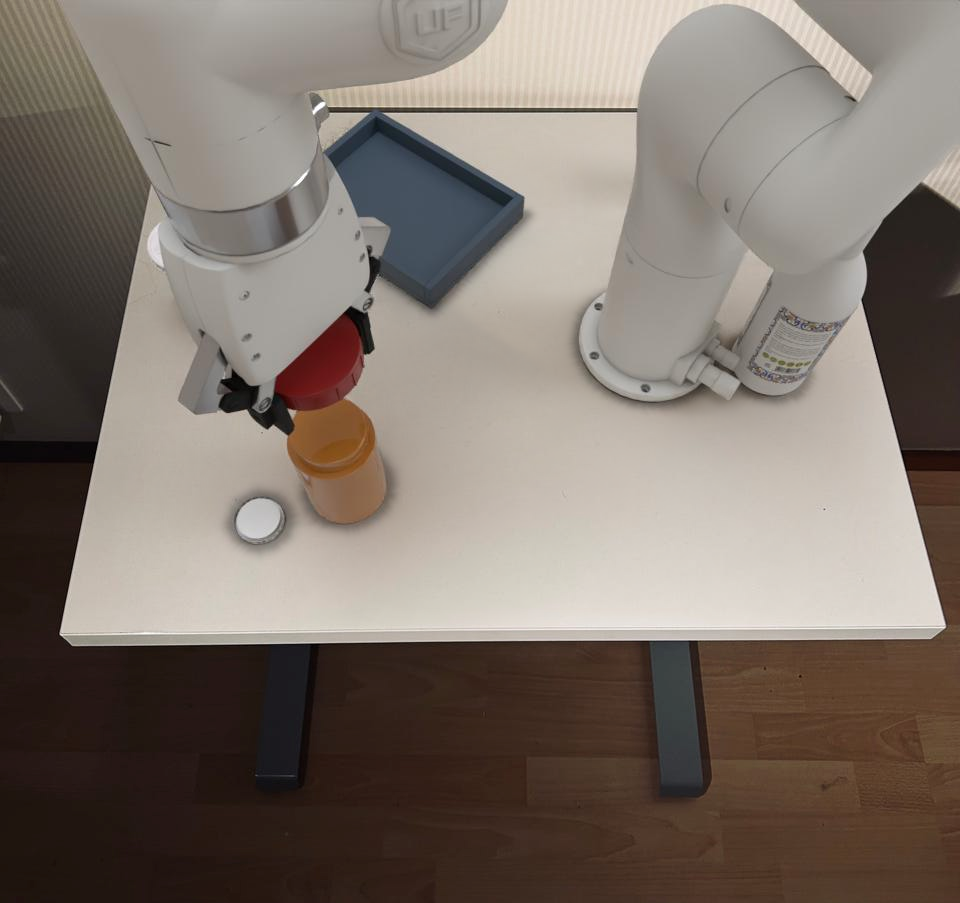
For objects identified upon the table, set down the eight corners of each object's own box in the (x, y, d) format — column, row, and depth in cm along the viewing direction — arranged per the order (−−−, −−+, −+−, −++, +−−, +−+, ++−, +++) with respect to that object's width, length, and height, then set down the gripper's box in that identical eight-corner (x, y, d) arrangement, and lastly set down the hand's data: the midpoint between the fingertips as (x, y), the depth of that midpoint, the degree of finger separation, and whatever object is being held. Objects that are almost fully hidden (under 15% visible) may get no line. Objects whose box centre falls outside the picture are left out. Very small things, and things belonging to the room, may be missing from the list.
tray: (523, 216, 81) (524, 196, 78) (431, 308, 76) (430, 290, 73) (377, 129, 86) (375, 108, 84) (282, 210, 81) (276, 190, 78)
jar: (402, 481, 68) (391, 422, 58) (350, 539, 66) (330, 487, 56) (345, 438, 70) (325, 374, 60) (292, 493, 67) (263, 435, 58)
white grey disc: (261, 553, 65) (259, 550, 64) (225, 525, 66) (223, 522, 65) (294, 516, 66) (293, 513, 66) (259, 489, 67) (257, 486, 67)
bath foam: (817, 390, 72) (932, 241, 54) (745, 404, 72) (837, 258, 54) (787, 328, 75) (887, 167, 57) (718, 341, 75) (797, 182, 57)
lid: (231, 370, 50) (223, 354, 49) (309, 300, 53) (303, 283, 51) (310, 432, 48) (303, 417, 47) (387, 357, 51) (383, 340, 49)
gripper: (314, 41, 40) (361, 268, 56) (35, 257, 34) (177, 442, 50) (428, 106, 38) (444, 323, 54) (154, 348, 32) (262, 510, 48)
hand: (315, 379), depth 52 cm, fingers closed on lid, 6 cm apart
